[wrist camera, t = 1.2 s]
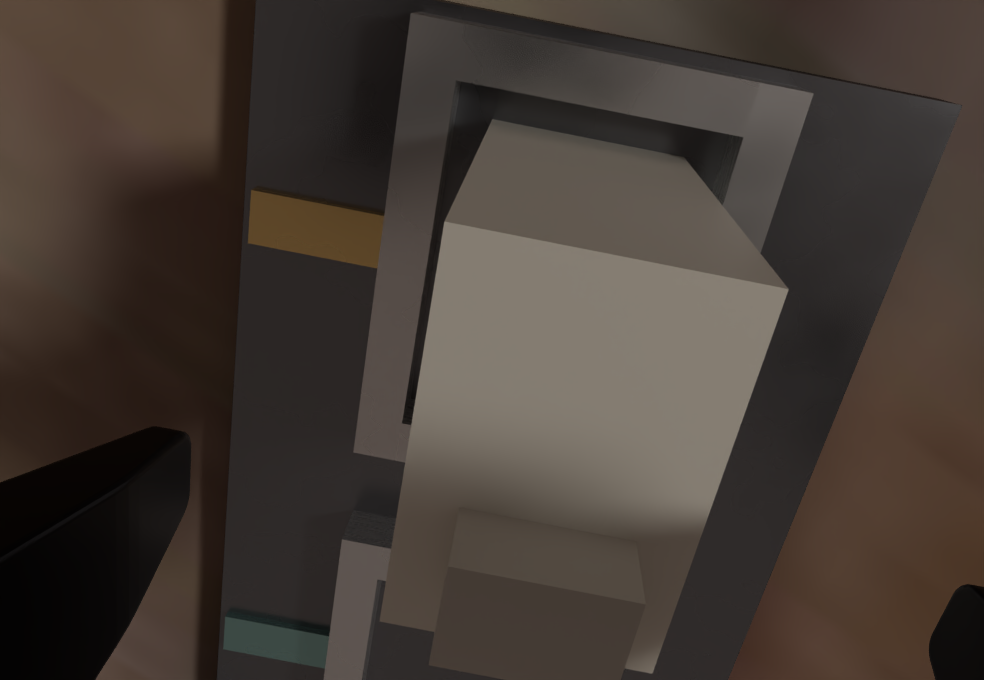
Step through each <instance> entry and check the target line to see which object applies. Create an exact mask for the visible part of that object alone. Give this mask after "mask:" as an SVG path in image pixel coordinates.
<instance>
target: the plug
mask: <svg viewBox="0 0 984 680" xmlns="http://www.w3.org/2000/svg"><path fill="white" fill-rule="evenodd" d="M788 290H789V289H788V288H787V286H786V285H785V284H784V283H783V281H782V280H781V279H780V278H779V276H778V275H777V274H776V272H775V271H774V270H773V269H772V267H771V266H770V265H769V264H768V262H767V261H766V260H765V259H764V257H763V256H762V255H761V254H760V252H759V251H758V250H757V249H756V247H755V246H754V245H753V243H752V242H751V241H750V240H749V238H748V237H747V236H746V235H745V233H744V232H743V231H742V230H741V228H740V227H739V226H738V225H737V223H736V222H735V221H734V220H733V218H732V217H731V216H730V215H729V213H728V212H727V211H726V209H725V208H724V207H723V206H722V204H721V203H720V202H719V201H718V199H717V198H716V197H715V196H714V194H713V193H712V192H711V191H710V189H709V188H708V187H707V186H706V184H705V183H704V182H703V181H702V179H701V178H700V177H699V175H698V174H697V173H696V172H695V170H694V169H693V168H692V167H691V165H690V164H689V163H688V162H687V160H686V159H685V158H684V157H681V156H676V155H671V154H666V153H661V152H656V151H651V150H646V149H641V148H636V147H631V146H626V145H621V144H616V143H610V142H605V141H600V140H595V139H590V138H585V137H580V136H575V135H570V134H565V133H560V132H555V131H550V130H545V129H540V128H535V127H530V126H525V125H520V124H515V123H510V122H504V121H499V120H494V119H492V121H491V123H490V125H489V127H488V130H487V132H486V134H485V136H484V138H483V140H482V142H481V145H480V147H479V149H478V151H477V153H476V155H475V157H474V159H473V162H472V164H471V166H470V168H469V170H468V172H467V174H466V177H465V179H464V181H463V183H462V185H461V187H460V189H459V192H458V194H457V196H456V198H455V200H454V202H453V204H452V206H451V209H450V211H449V213H448V215H447V217H446V219H445V221H444V227H443V234H442V240H441V246H440V252H439V258H438V264H437V270H436V277H435V283H434V289H433V295H432V301H431V307H430V314H429V320H428V326H427V332H426V338H425V344H424V350H423V357H422V363H421V369H420V375H419V381H418V387H417V393H416V400H415V406H414V412H413V418H412V424H411V430H410V436H409V443H408V449H407V455H406V461H405V467H404V473H403V480H402V486H401V492H400V498H399V504H398V510H397V516H396V523H395V529H394V535H393V541H392V547H391V553H390V559H389V566H388V572H387V578H386V584H385V590H384V596H383V603H382V609H381V615H380V622H385V623H390V624H395V625H401V626H406V627H411V628H416V629H422V630H427V631H432V632H435V633H434V638H433V644H432V649H431V655H430V660H429V665H430V666H435V667H441V668H446V669H451V670H456V671H461V672H467V673H472V674H477V675H482V676H488V677H493V678H498V679H503V680H621V677H622V674H623V671H624V668H625V669H630V670H635V671H641V672H646V673H651V674H652V673H653V670H654V668H655V665H656V662H657V659H658V656H659V654H660V651H661V648H662V645H663V642H664V639H665V637H666V634H667V631H668V628H669V625H670V623H671V620H672V617H673V614H674V611H675V608H676V606H677V603H678V600H679V597H680V594H681V592H682V589H683V586H684V583H685V580H686V577H687V575H688V572H689V569H690V566H691V563H692V561H693V558H694V555H695V552H696V549H697V546H698V544H699V541H700V538H701V535H702V532H703V530H704V527H705V524H706V521H707V518H708V515H709V513H710V510H711V507H712V504H713V501H714V499H715V496H716V493H717V490H718V487H719V484H720V482H721V479H722V476H723V473H724V470H725V468H726V465H727V462H728V459H729V456H730V453H731V451H732V448H733V445H734V442H735V439H736V437H737V434H738V431H739V428H740V425H741V422H742V420H743V417H744V414H745V411H746V408H747V406H748V403H749V400H750V397H751V394H752V391H753V389H754V386H755V383H756V380H757V377H758V375H759V372H760V369H761V366H762V363H763V361H764V358H765V355H766V352H767V349H768V346H769V344H770V341H771V338H772V335H773V332H774V330H775V327H776V324H777V321H778V318H779V315H780V313H781V310H782V307H783V304H784V301H785V299H786V296H787V293H788Z"/></svg>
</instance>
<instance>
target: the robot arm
mask: <svg viewBox="0 0 984 680" xmlns="http://www.w3.org/2000/svg"><path fill="white" fill-rule="evenodd" d="M190 466H191V441H190V437H189V436H188V434H187V433H185V432H182V431H177V430H172V429H167V428H162V427H157V426H155V427H149V428H146V429H144V430H141V431H138V432H135V433H133V434H130V435H127V436H125V437H122V438H119V439H117V440H114V441H111V442H108V443H106V444H103V445H100V446H98V447H95V448H92V449H90V450H87V451H84V452H81V453H79V454H76V455H73V456H71V457H68V458H65V459H63V460H60V461H57V462H54V463H52V464H49V465H46V466H44V467H41V468H38V469H36V470H33V471H30V472H27V473H25V474H22V475H19V476H17V477H14V478H11V479H8V480H6V481H3V482H0V680H95V679H96V677H97V676H98V674H99V673H100V671H101V670H102V668H103V666H104V665H105V663H106V662H107V660H108V659H109V657H110V655H111V654H112V652H113V651H114V649H115V648H116V646H117V645H118V643H119V641H120V640H121V638H122V636H123V635H124V633H125V631H126V630H127V628H128V626H129V624H130V623H131V621H132V619H133V617H134V615H135V613H136V611H137V609H138V607H139V605H140V603H141V601H142V599H143V597H144V595H145V593H146V591H147V589H148V587H149V585H150V583H151V580H152V578H153V576H154V574H155V572H156V570H157V568H158V566H159V564H160V562H161V560H162V558H163V556H164V554H165V552H166V550H167V548H168V546H169V544H170V542H171V539H172V537H173V535H174V533H175V531H176V529H177V527H178V525H179V523H180V521H181V519H182V517H183V515H184V513H185V510H186V507H187V504H188V500H189V493H190ZM929 656H930V661H931V665H932V669H933V672H934V676H935V680H984V587H981V586H976V585H970V584H966V585H963V586H960V587H959V588H958V589H957V590H956V591H955V592H954V594H953V596H952V597H951V599H950V601H949V603H948V605H947V607H946V609H945V611H944V613H943V615H942V616H941V618H940V620H939V622H938V624H937V626H936V628H935V630H934V632H933V634H932V636H931V639H930V643H929Z"/></svg>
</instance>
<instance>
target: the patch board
mask: <svg viewBox="0 0 984 680" xmlns="http://www.w3.org/2000/svg"><path fill="white" fill-rule="evenodd" d="M961 107H962V105H959V104H955V103H952V102H948V101H944V100H941V99H936V98H931V97H926V96H921V95H916V94H911V93H906V92H901V91H896V90H891V89H886V88H881V87H876V86H871V85H866V84H861V83H856V82H851V81H846V80H841V79H836V78H831V77H826V76H821V75H816V74H811V73H806V72H801V71H796V70H791V69H786V68H781V67H776V66H771V65H766V64H761V63H756V62H751V61H746V60H741V59H736V58H731V57H726V56H721V55H716V54H711V53H706V52H700V51H695V50H690V49H685V48H680V47H675V46H670V45H665V44H660V43H655V42H650V41H645V40H640V39H635V38H630V37H625V36H620V35H615V34H610V33H605V32H600V31H595V30H590V29H585V28H580V27H575V26H570V25H565V24H560V23H555V22H550V21H545V20H540V19H535V18H530V17H525V16H520V15H515V14H510V13H505V12H500V11H495V10H490V9H485V8H480V7H475V6H470V5H465V4H460V3H455V2H450V1H445V0H256V7H255V25H254V42H253V60H252V77H251V94H250V112H249V129H248V146H247V164H246V181H245V199H244V216H243V233H242V251H241V268H240V285H239V303H238V320H237V338H236V355H235V372H234V390H233V407H232V424H231V442H230V459H229V477H228V494H227V511H226V529H225V546H224V563H223V581H222V598H221V616H220V633H219V650H218V668H217V680H503V679H498V678H493V677H488V676H482V675H477V674H472V673H467V672H461V671H456V670H451V669H446V668H441V667H435V666H430V665H429V660H430V655H431V649H432V644H433V638H434V633H435V632H432V631H427V630H422V629H416V628H411V627H406V626H401V625H395V624H390V623H385V622H380V615H381V609H382V603H383V596H384V590H385V584H386V578H387V572H388V566H389V559H390V553H391V547H392V541H393V535H394V529H395V523H396V516H397V510H398V504H399V498H400V492H401V486H402V480H403V473H404V467H405V461H406V455H407V449H408V443H409V436H410V430H411V424H412V418H413V412H414V406H415V400H416V393H417V387H418V381H419V375H420V369H421V363H422V357H423V350H424V344H425V338H426V332H427V326H428V320H429V314H430V307H431V301H432V295H433V289H434V283H435V277H436V270H437V264H438V258H439V252H440V246H441V240H442V234H443V227H444V221H445V219H446V217H447V215H448V213H449V211H450V209H451V206H452V204H453V202H454V200H455V198H456V196H457V194H458V192H459V189H460V187H461V185H462V183H463V181H464V179H465V177H466V174H467V172H468V170H469V168H470V166H471V164H472V162H473V159H474V157H475V155H476V153H477V151H478V149H479V147H480V145H481V142H482V140H483V138H484V136H485V134H486V132H487V130H488V127H489V125H490V123H491V121H492V119H494V120H499V121H504V122H510V123H515V124H520V125H525V126H530V127H535V128H540V129H545V130H550V131H555V132H560V133H565V134H570V135H575V136H580V137H585V138H590V139H595V140H600V141H605V142H610V143H616V144H621V145H626V146H631V147H636V148H641V149H646V150H651V151H656V152H661V153H666V154H671V155H676V156H681V157H684V158H685V159H686V160H687V162H688V163H689V164H690V165H691V167H692V168H693V169H694V170H695V172H696V173H697V174H698V175H699V177H700V178H701V179H702V181H703V182H704V183H705V184H706V186H707V187H708V188H709V189H710V191H711V192H712V193H713V194H714V196H715V197H716V198H717V199H718V201H719V202H720V203H721V204H722V206H723V207H724V208H725V209H726V211H727V212H728V213H729V215H730V216H731V217H732V218H733V220H734V221H735V222H736V223H737V225H738V226H739V227H740V228H741V230H742V231H743V232H744V233H745V235H746V236H747V237H748V238H749V240H750V241H751V242H752V243H753V245H754V246H755V247H756V249H757V250H758V251H759V252H760V254H761V255H762V256H763V257H764V259H765V260H766V261H767V262H768V264H769V265H770V266H771V267H772V269H773V270H774V271H775V272H776V274H777V275H778V276H779V278H780V279H781V280H782V281H783V283H784V284H785V285H786V286H787V288H788V289H789V290H788V293H787V296H786V299H785V301H784V304H783V307H782V310H781V313H780V315H779V318H778V321H777V324H776V327H775V330H774V332H773V335H772V338H771V341H770V344H769V346H768V349H767V352H766V355H765V358H764V361H763V363H762V366H761V369H760V372H759V375H758V377H757V380H756V383H755V386H754V389H753V391H752V394H751V397H750V400H749V403H748V406H747V408H746V411H745V414H744V417H743V420H742V422H741V425H740V428H739V431H738V434H737V437H736V439H735V442H734V445H733V448H732V451H731V453H730V456H729V459H728V462H727V465H726V468H725V470H724V473H723V476H722V479H721V482H720V484H719V487H718V490H717V493H716V496H715V499H714V501H713V504H712V507H711V510H710V513H709V515H708V518H707V521H706V524H705V527H704V530H703V532H702V535H701V538H700V541H699V544H698V546H697V549H696V552H695V555H694V558H693V561H692V563H691V566H690V569H689V572H688V575H687V577H686V580H685V583H684V586H683V589H682V592H681V594H680V597H679V600H678V603H677V606H676V608H675V611H674V614H673V617H672V620H671V623H670V625H669V628H668V631H667V634H666V637H665V639H664V642H663V645H662V648H661V651H660V654H659V656H658V659H657V662H656V665H655V668H654V670H653V673H652V674H651V673H646V672H641V671H635V670H630V669H625V668H624V671H623V674H622V677H621V680H728V678H729V676H730V673H731V671H732V668H733V666H734V663H735V661H736V659H737V656H738V654H739V651H740V649H741V646H742V644H743V641H744V639H745V637H746V634H747V632H748V629H749V627H750V624H751V622H752V619H753V617H754V614H755V612H756V610H757V607H758V605H759V602H760V600H761V597H762V595H763V592H764V590H765V588H766V585H767V583H768V580H769V578H770V575H771V573H772V570H773V568H774V565H775V563H776V561H777V558H778V556H779V553H780V551H781V548H782V546H783V543H784V541H785V539H786V536H787V534H788V531H789V529H790V526H791V524H792V521H793V519H794V516H795V514H796V512H797V509H798V507H799V504H800V502H801V499H802V497H803V494H804V492H805V490H806V487H807V485H808V482H809V480H810V477H811V475H812V472H813V470H814V467H815V465H816V463H817V460H818V458H819V455H820V453H821V450H822V448H823V445H824V443H825V441H826V438H827V436H828V433H829V431H830V428H831V426H832V423H833V421H834V418H835V416H836V414H837V411H838V409H839V406H840V404H841V401H842V399H843V396H844V394H845V392H846V389H847V387H848V384H849V382H850V379H851V377H852V374H853V372H854V369H855V367H856V365H857V362H858V360H859V357H860V355H861V352H862V350H863V347H864V345H865V343H866V340H867V338H868V335H869V333H870V330H871V328H872V325H873V323H874V321H875V318H876V316H877V313H878V311H879V308H880V306H881V303H882V301H883V298H884V296H885V294H886V291H887V289H888V286H889V284H890V281H891V279H892V276H893V274H894V272H895V269H896V267H897V264H898V262H899V259H900V257H901V254H902V252H903V249H904V247H905V245H906V242H907V240H908V237H909V235H910V232H911V230H912V227H913V225H914V223H915V220H916V218H917V215H918V213H919V210H920V208H921V205H922V203H923V200H924V198H925V196H926V193H927V191H928V188H929V186H930V183H931V181H932V178H933V176H934V174H935V171H936V169H937V166H938V164H939V161H940V159H941V156H942V154H943V151H944V149H945V147H946V144H947V142H948V139H949V137H950V134H951V132H952V129H953V127H954V125H955V122H956V120H957V117H958V115H959V112H960V110H961Z"/></svg>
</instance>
